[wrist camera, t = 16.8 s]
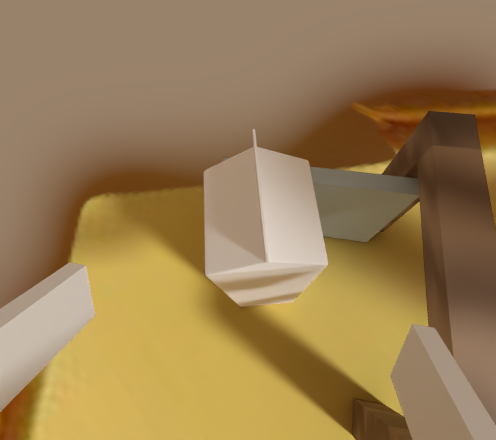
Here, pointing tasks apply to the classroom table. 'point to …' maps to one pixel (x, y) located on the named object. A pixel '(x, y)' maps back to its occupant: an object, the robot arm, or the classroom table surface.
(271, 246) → the milk
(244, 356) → the classroom table surface
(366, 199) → the door
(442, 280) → the door frame
